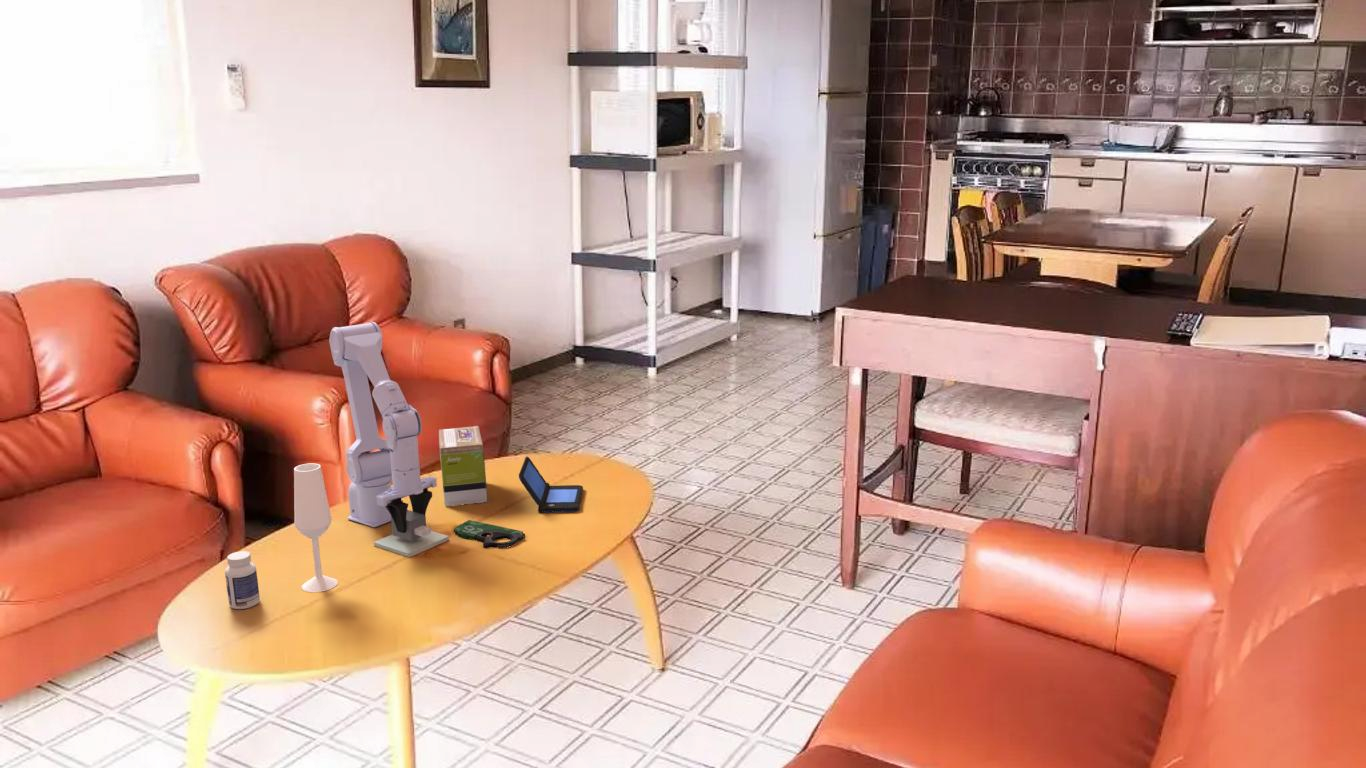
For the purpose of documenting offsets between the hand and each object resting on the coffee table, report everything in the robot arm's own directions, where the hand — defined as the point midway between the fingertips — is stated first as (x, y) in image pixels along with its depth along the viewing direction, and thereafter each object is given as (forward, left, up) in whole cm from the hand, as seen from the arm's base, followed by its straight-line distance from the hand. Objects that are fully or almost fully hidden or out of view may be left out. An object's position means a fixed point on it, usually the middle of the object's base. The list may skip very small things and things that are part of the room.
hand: (410, 528), depth 229 cm
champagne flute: (+1, -24, -3) cm, 24 cm away
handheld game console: (+9, +35, -4) cm, 36 cm away
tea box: (-12, +27, -4) cm, 30 cm away
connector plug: (+1, 0, -2) cm, 2 cm away
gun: (+11, +11, -4) cm, 16 cm away
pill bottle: (-4, -37, -4) cm, 37 cm away
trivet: (0, 0, -3) cm, 3 cm away
